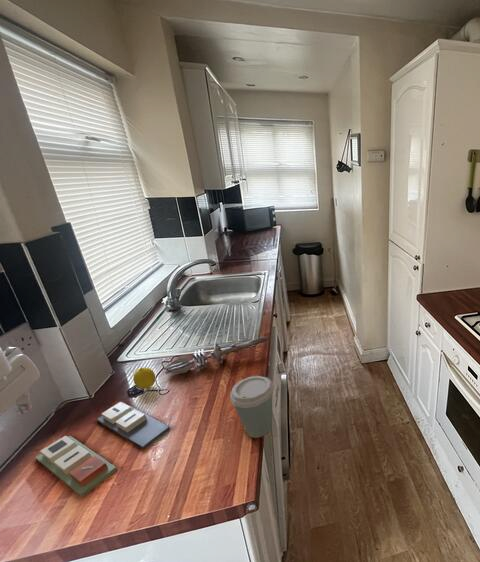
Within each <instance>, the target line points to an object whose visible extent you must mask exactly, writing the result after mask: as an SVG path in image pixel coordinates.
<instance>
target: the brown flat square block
mask: <svg viewBox="0 0 480 562" xmlns="http://www.w3.org/2000/svg"><path fill="white" fill-rule="evenodd" d="M106 469H108V467H107V465H106V463H105V462H104V461H102V460H101V459H99V458H98V457H96V456H95V455H94V456H93V457H91V458H90V459H88V460H87V461H85V462H84V463H83V464H81V465H80V466H78V467H77V468H75V469H74V470H73V471H71V472H70V473H69V474H70V476H71V478H72V479H74V480H75V481H76V482H77V483H79V484H80V485H81V486H82V487H84V486H85V485H86V484H88V483H89V482H90V481H92V480H93V479H94V478H96V477H97V476H98V475H100V474H101V473H102V472H104V471H105V470H106Z"/></svg>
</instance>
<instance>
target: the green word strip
mask: <svg viewBox="0 0 480 562" xmlns="http://www.w3.org/2000/svg"><path fill="white" fill-rule="evenodd" d="M39 452H40V453H39V454H37V456H35V457H34V458H35V460H36V461H38V463H40V464H41V465H42V466H43V467H45V468H46V469H47V470H48V471H49V472H51V473H52V474H53V475H54V476H55V477H56V478H58V479H59V480H60V481H62V482H63V483H64V484H65V485H66V486H67V487H68V488H70V489H71V490H73V491H74V492H75V493H76V494H78V496H80V497H81V498H83V497H84V496H86V495H87V494H88V493H90V491H92V490H93V489H95V488H96V487H97V486H98V485H100V484H101V483H102V482H104V481H105V480H106V479H108V478H109V477H110V476H111V475H113V474H114V473H115V472H117V471H118V469H117V467H116V466H115V465H114V464H112V463H110V462H109V461H108V460H106V459H105V458H103V457H102V456H101V455H99V454H98V453H97V452H94V451H93V450H92V449H90V447H88V446H86V445H85V444H83V443H81V442H80V441H79V440H77V439H75V438H74V437H73V436H72V435H69V436H67V435H63V436H62V437H61V438H59V439H57V440H56V441H54V442H53V443H51V444H49V445H47V446H45V447H44V448H42V449H41V450H39ZM94 455H95V456H96V457H98V458H99V459H101V460H102V461H104V462H105V463H106V465H107V467H108V469H106V470H105V471H104V472H102V473H101V474H100V475H98V476H97V477H96V478H94V479H93V480H92V481H90V482H89V483H88V484H86V485H85V486H84V487H82V486H81V485H80V484H79V483H77V482H76V481H75V480H74V479H72V478H71V476H70V474H69V473H70V472H71V471H73V470H74V469H75V468H77V467H78V466H80V465H81V464H83V463H84V462H85V461H87V460H88V459H90V458H91V457H93V456H94Z"/></svg>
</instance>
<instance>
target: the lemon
mask: <svg viewBox="0 0 480 562" xmlns="http://www.w3.org/2000/svg"><path fill="white" fill-rule="evenodd" d="M132 379H133V383H134V385H135V386H136V387H137V388H138V389H142V390H145V389H147V390H148V389H150V388H151V387H153V385H154V384H155V383H156V373H155V372H154V370H153V369H151V368H150V367H146V366H145V367H140V368H138V369H137V370H136V371H135V372H134V374H133V377H132Z"/></svg>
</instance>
